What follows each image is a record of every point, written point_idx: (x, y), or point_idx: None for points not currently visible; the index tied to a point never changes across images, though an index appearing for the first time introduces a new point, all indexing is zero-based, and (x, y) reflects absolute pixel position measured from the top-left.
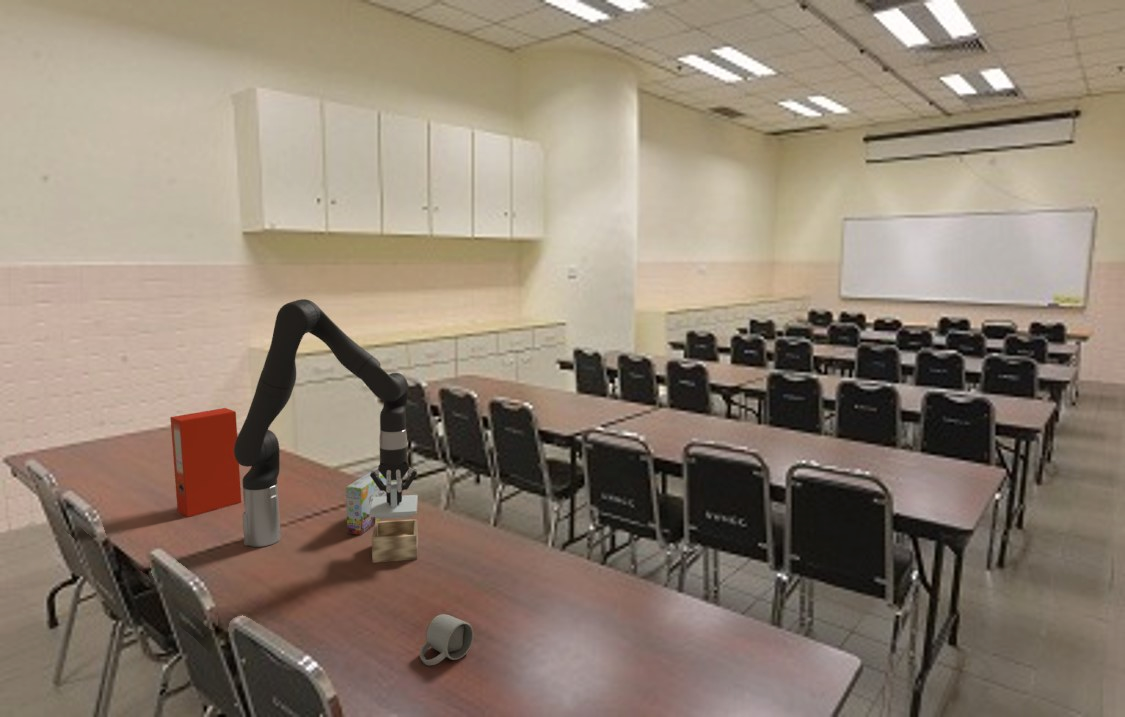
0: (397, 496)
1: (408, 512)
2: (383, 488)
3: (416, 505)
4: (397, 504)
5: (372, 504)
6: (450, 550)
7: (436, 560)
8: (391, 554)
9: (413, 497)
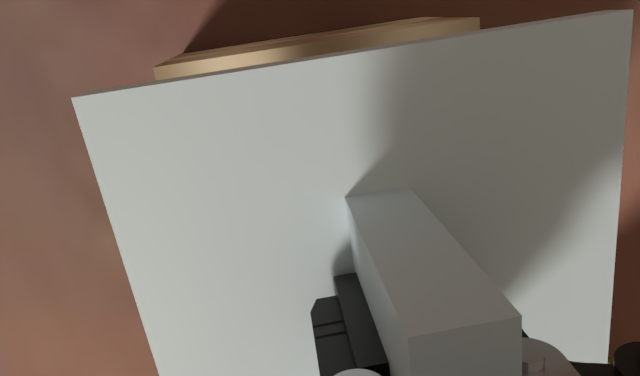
0: (367, 325)
1: (176, 81)
2: (634, 374)
3: (130, 269)
4: (351, 274)
5: (605, 268)
6: (18, 168)
7: (61, 38)
8: (325, 33)
9: None
